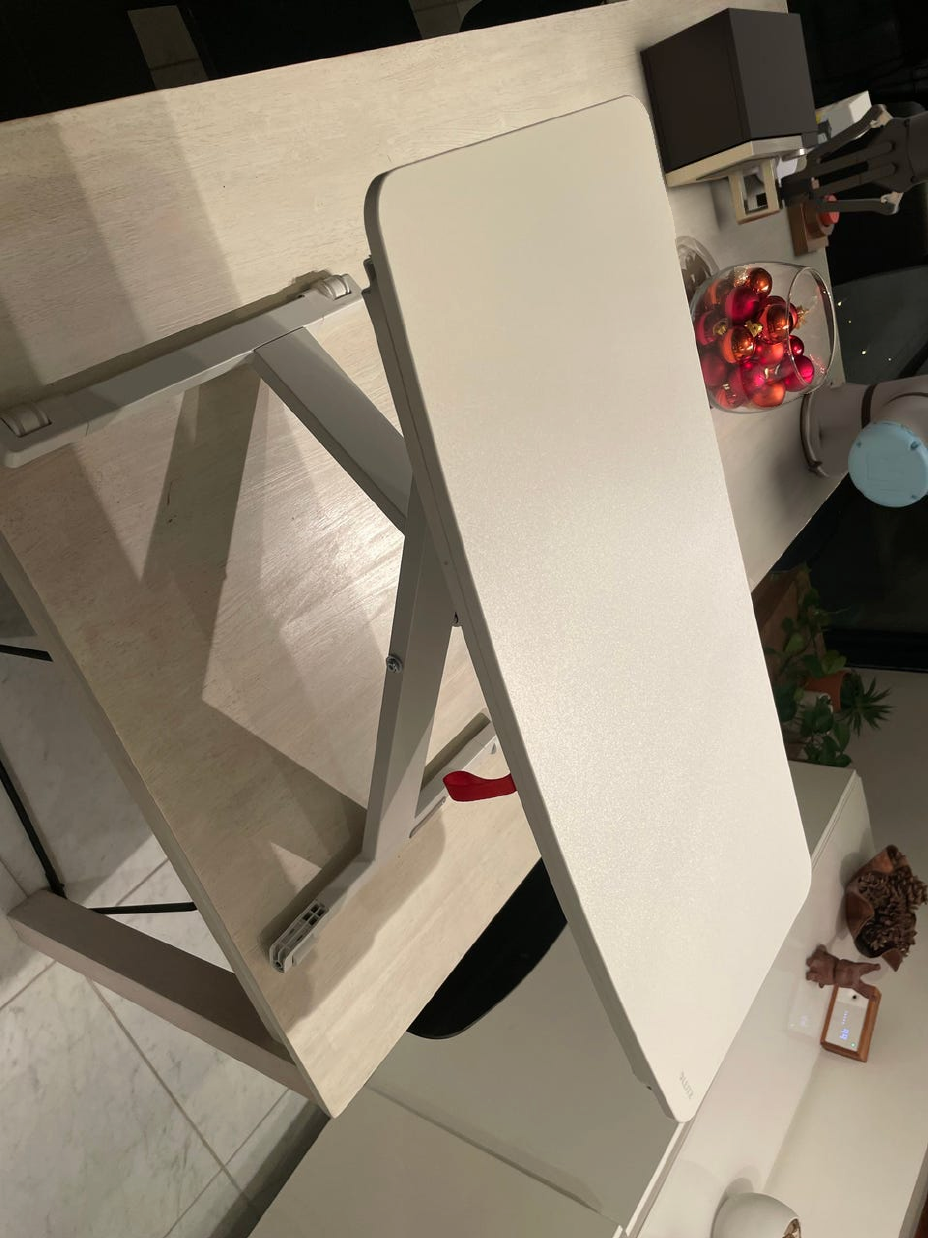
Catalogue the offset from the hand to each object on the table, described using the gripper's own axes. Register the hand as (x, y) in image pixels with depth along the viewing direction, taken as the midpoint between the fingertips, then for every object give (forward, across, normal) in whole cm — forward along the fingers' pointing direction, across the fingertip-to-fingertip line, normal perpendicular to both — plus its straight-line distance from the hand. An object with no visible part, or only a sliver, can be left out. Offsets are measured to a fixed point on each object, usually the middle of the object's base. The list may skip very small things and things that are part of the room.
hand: (761, 199), depth 127 cm
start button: (+2, +3, +24) cm, 25 cm away
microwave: (+6, -12, -4) cm, 14 cm away
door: (+5, -2, -7) cm, 9 cm away
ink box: (+6, -8, +24) cm, 26 cm away
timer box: (+5, +4, +24) cm, 25 cm away
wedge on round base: (+6, -7, +13) cm, 16 cm away
